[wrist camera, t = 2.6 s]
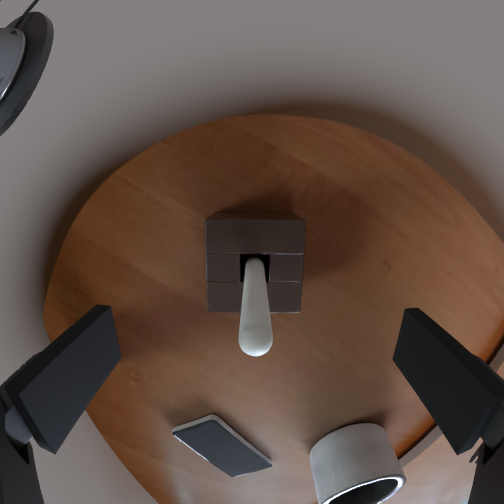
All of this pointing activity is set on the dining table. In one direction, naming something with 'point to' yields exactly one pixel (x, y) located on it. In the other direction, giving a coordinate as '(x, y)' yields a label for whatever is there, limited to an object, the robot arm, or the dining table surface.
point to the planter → (355, 466)
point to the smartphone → (221, 446)
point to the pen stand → (254, 242)
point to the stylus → (255, 309)
